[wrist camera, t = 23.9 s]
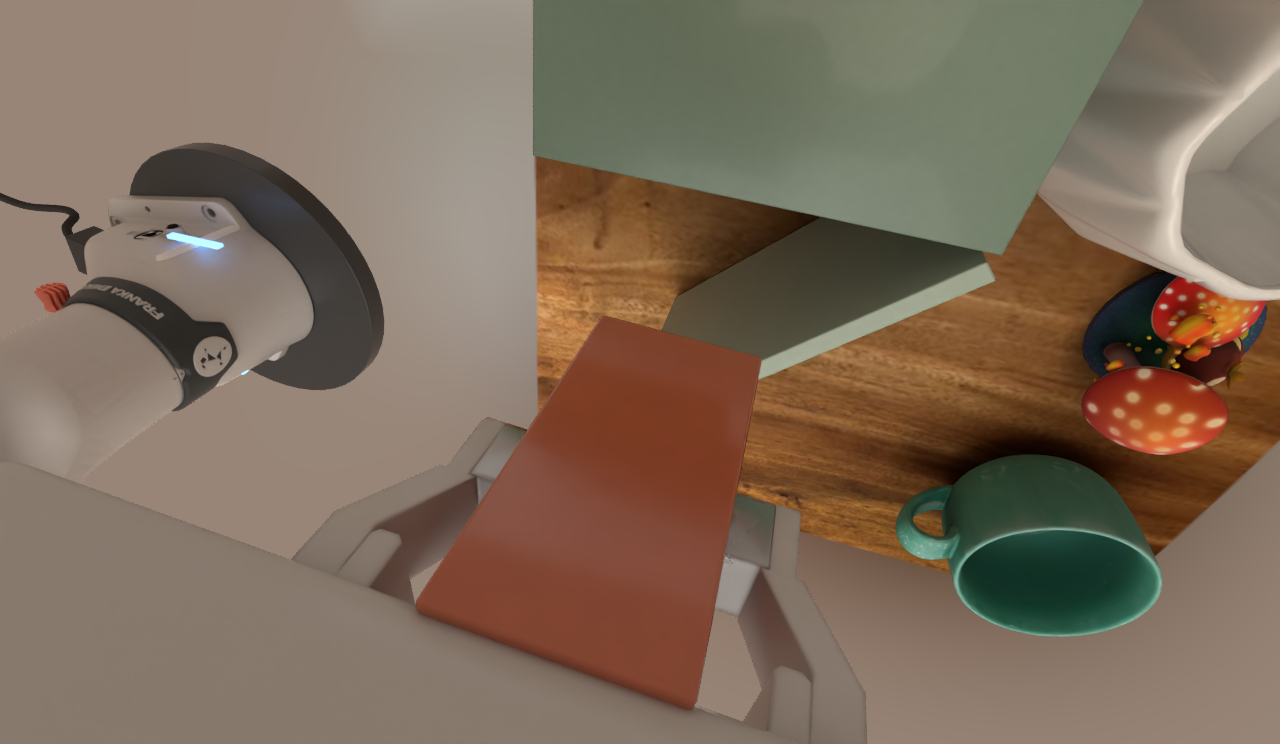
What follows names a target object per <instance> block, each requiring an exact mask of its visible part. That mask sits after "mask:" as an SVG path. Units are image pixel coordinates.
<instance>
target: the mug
mask: <svg viewBox="0 0 1280 744" xmlns="http://www.w3.org/2000/svg"><path fill="white" fill-rule="evenodd" d="M928 510H942V528H943V537H935V536H930V535H928V534H926V533H924V532H923V531H921V530H920V529H919V528H918V527H917V526H916V525H915V524H914V522H913V519H912V518H913V517H914V516H915V515H917V514H919V513H922V512H924V511H928ZM896 533H897V537H898V539H899V541H900V543H901V544H902V546H903V547H904V548H905V549H906V550H907V551H908V552H910V553H911V554H913V555H915V556H917V557H919V558H923V559H932V560H933V559H945V558H948V562H949V566H950V571H951V575H952V580H953V584H954V587H955V590H956V592H957V594H958V596H959V597H960V599H961V600H962V601H963V603H964V604H965V605H966V606H967V607H968V608H969V609H971V610H972V611H973V612H974V613H975V614H977V615H978V616H980V617H982V618H984V619H985V620H987V621H989V622H991V623H993V624H996V625H998V626H1001V627H1004V628H1006V629H1009V630H1013V631H1017V632H1021V633H1027V634H1033V635H1041V636H1078V635H1086V634H1092V633H1097V632H1102V631H1106V630H1110V629H1113V628H1116V627H1119V626H1121V625H1124V624H1126V623H1128V622H1131V621H1132V620H1134V619H1136V618H1138V617H1139V616H1141V615H1142V614H1144V613H1145V612H1146V611H1147V610H1149V609H1150V608H1151V607H1152V606H1153V604H1154V603H1155V602H1156V601H1157V599H1158V597H1159V595H1160V593H1161V589H1162V583H1163V579H1162V573H1161V570H1160V567H1159V566H1158V563H1157V561H1156V558H1155V556H1154V554H1153V552H1152V550H1151V548H1150V546H1149V544H1148V543H1147V541H1146V539H1145V537H1144V535H1143V533H1142V531H1141V529H1140V527H1139V526H1138V524H1137V522H1136V520H1135V518H1134V517H1133V515H1132V513H1131V512H1130V510H1129V509H1128V507H1127V505H1126V504H1125V502H1124V501H1123V499H1122V498H1121V496H1120V495H1119V494H1118V492H1117V491H1116V490H1115V489H1114V488H1113V487H1112V486H1111V485H1110V484H1109V483H1108V482H1107V481H1106V480H1105V479H1104V478H1102V477H1101V476H1100V475H1098V474H1097V473H1095V472H1094V471H1092V470H1091V469H1089V468H1087V467H1085V466H1083V465H1081V464H1078V463H1076V462H1073V461H1070V460H1067V459H1063V458H1059V457H1054V456H1048V455H1036V454H1025V455H1013V456H1007V457H1002V458H998V459H995V460H991V461H989V462H986V463H984V464H981V465H979V466H977V467H975V468H974V469H972V470H970V471H969V472H967V473H966V474H965V475H963V476H962V477H961V478H960V479H959V480H958V481H957V482H956V483H955V484H954V485H943V486H937V487H933V488H930V489H927V490H925V491H922V492H920V493H918V494H916V495H915V496H913V497H912V498H911V499H909V500H908V501H907V502H906V503H905V505H904V506H903V508H902V509H901V511H900V513H899V515H898V518H897V521H896Z"/></svg>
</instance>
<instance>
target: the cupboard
mask: <svg viewBox="0 0 1280 744" xmlns="http://www.w3.org/2000/svg"><path fill="white" fill-rule="evenodd" d="M1143 2H1144V0H534V11H533V155H534V156H538V157H543V158H548V159H552V160H557V161H562V162H566V163H571V164H576V165H580V166H585V167H590V168H594V169H599V170H604V171H608V172H613V173H618V174H622V175H627V176H632V177H637V178H641V179H646V180H651V181H655V182H660V183H665V184H669V185H674V186H679V187H683V188H688V189H693V190H697V191H702V192H707V193H711V194H716V195H721V196H725V197H730V198H735V199H739V200H744V201H749V202H754V203H758V204H763V205H768V206H772V207H777V208H782V209H786V210H791V211H796V212H800V213H805V214H810V215H814V216H819V217H824V218H828V219H833V220H838V221H842V222H847V223H852V224H857V225H861V226H866V227H871V228H875V229H880V230H885V231H889V232H894V233H899V234H903V235H908V236H913V237H917V238H922V239H927V240H931V241H936V242H941V243H945V244H950V245H955V246H959V247H964V248H969V249H974V250H978V251H983V252H988V253H992V254H997V255H1002V254H1003V253H1004V251H1005V249H1006V247H1007V245H1008V244H1009V242H1010V240H1011V238H1012V236H1013V235H1014V233H1015V231H1016V229H1017V228H1018V226H1019V224H1020V222H1021V220H1022V219H1023V217H1024V215H1025V213H1026V211H1027V210H1028V208H1029V206H1030V204H1031V202H1032V201H1033V199H1034V197H1035V195H1036V194H1037V192H1038V190H1039V188H1040V186H1041V185H1042V183H1043V181H1044V179H1045V177H1046V176H1047V174H1048V172H1049V170H1050V168H1051V167H1052V165H1053V163H1054V161H1055V160H1056V158H1057V156H1058V154H1059V152H1060V151H1061V149H1062V147H1063V145H1064V143H1065V142H1066V140H1067V138H1068V136H1069V134H1070V133H1071V131H1072V129H1073V127H1074V125H1075V124H1076V122H1077V120H1078V118H1079V117H1080V115H1081V113H1082V111H1083V109H1084V108H1085V106H1086V104H1087V102H1088V100H1089V99H1090V97H1091V95H1092V93H1093V91H1094V90H1095V88H1096V86H1097V84H1098V83H1099V81H1100V79H1101V77H1102V75H1103V74H1104V72H1105V70H1106V68H1107V66H1108V65H1109V63H1110V61H1111V59H1112V57H1113V56H1114V54H1115V52H1116V50H1117V49H1118V47H1119V45H1120V43H1121V41H1122V40H1123V38H1124V36H1125V34H1126V32H1127V31H1128V29H1129V27H1130V25H1131V23H1132V22H1133V20H1134V18H1135V16H1136V15H1137V13H1138V11H1139V9H1140V7H1141V6H1142V4H1143Z"/></svg>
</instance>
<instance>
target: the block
mask: <svg viewBox="0 0 1280 744" xmlns="http://www.w3.org/2000/svg"><path fill="white" fill-rule="evenodd" d="M761 362H762V360H761V358H760V357H758V356H755V355H751V354H747V353H743V352H740V351H736V350H732V349H728V348H725V347H721V346H717V345H713V344H710V343H706V342H702V341H698V340H695V339H691V338H687V337H683V336H680V335H676V334H672V333H668V332H665V331H661V330H657V329H653V328H650V327H646V326H642V325H638V324H635V323H631V322H627V321H623V320H620V319H616V318H612V317H608V316H601V318H600V319H599V321H598V322H597V324H596V325H595V327H594V329H593V330H592V332H591V333H590V335H589V336H588V338H587V339H586V341H585V342H584V344H583V345H582V347H581V349H580V350H579V352H578V353H577V355H576V356H575V358H574V359H573V361H572V362H571V364H570V365H569V367H568V368H567V370H566V372H565V373H564V375H563V376H562V378H561V379H560V381H559V382H558V384H557V385H556V387H555V388H554V390H553V392H552V393H551V395H550V396H549V398H548V399H547V401H546V402H545V404H544V405H543V407H542V408H541V410H540V411H539V413H538V415H537V416H536V418H535V419H534V421H533V422H532V424H531V425H530V427H529V429H528V430H527V431H526V433H525V434H524V436H523V438H522V439H521V441H520V442H519V444H518V445H517V447H516V448H515V450H514V451H513V453H512V454H511V456H510V458H509V459H508V461H507V462H506V464H505V465H504V467H503V468H502V470H501V471H500V473H499V474H498V476H497V477H496V479H495V481H494V482H493V484H492V485H491V487H490V488H489V490H488V491H487V493H486V494H485V496H484V497H483V499H482V501H481V502H480V504H479V505H478V507H477V508H476V510H475V511H474V513H473V514H472V516H471V517H470V519H469V520H468V522H467V524H466V525H465V527H464V528H463V530H462V531H461V533H460V534H459V536H458V537H457V539H456V540H455V542H454V543H453V545H452V547H451V548H450V550H449V551H448V553H447V554H446V556H445V557H444V559H443V560H442V562H441V563H440V565H439V567H438V568H437V570H436V571H435V573H434V574H433V576H432V577H431V579H430V581H429V582H428V583H427V585H426V587H425V588H424V590H423V591H422V593H421V594H420V596H419V597H418V599H417V600H416V610H417V612H418V613H420V614H422V615H425V616H428V617H431V618H433V619H436V620H439V621H442V622H444V623H447V624H450V625H453V626H456V627H458V628H461V629H464V630H467V631H470V632H472V633H475V634H478V635H481V636H483V637H486V638H489V639H492V640H495V641H497V642H500V643H503V644H506V645H509V646H511V647H514V648H517V649H520V650H522V651H525V652H528V653H531V654H534V655H536V656H539V657H542V658H545V659H547V660H550V661H553V662H556V663H559V664H561V665H564V666H567V667H570V668H573V669H575V670H578V671H581V672H584V673H586V674H589V675H592V676H595V677H598V678H600V679H603V680H606V681H609V682H611V683H614V684H617V685H620V686H623V687H625V688H628V689H631V690H634V691H637V692H639V693H642V694H645V695H648V696H650V697H653V698H656V699H659V700H662V701H664V702H667V703H670V704H673V705H675V706H678V707H681V708H684V709H687V710H692V709H693V708H694V707H695V704H696V702H697V699H698V694H699V689H700V684H701V678H702V673H703V667H704V663H705V657H706V652H707V647H708V641H709V636H710V631H711V625H712V620H713V615H714V610H715V605H716V599H717V594H718V589H719V584H720V578H721V573H722V568H723V562H724V557H725V552H726V547H727V541H728V536H729V531H730V526H731V520H732V515H733V510H734V505H735V499H736V494H737V489H738V483H739V478H740V473H741V468H742V462H743V457H744V452H745V447H746V441H747V436H748V431H749V426H750V420H751V415H752V410H753V404H754V399H755V394H756V389H757V383H758V378H759V373H760V368H761Z"/></svg>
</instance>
